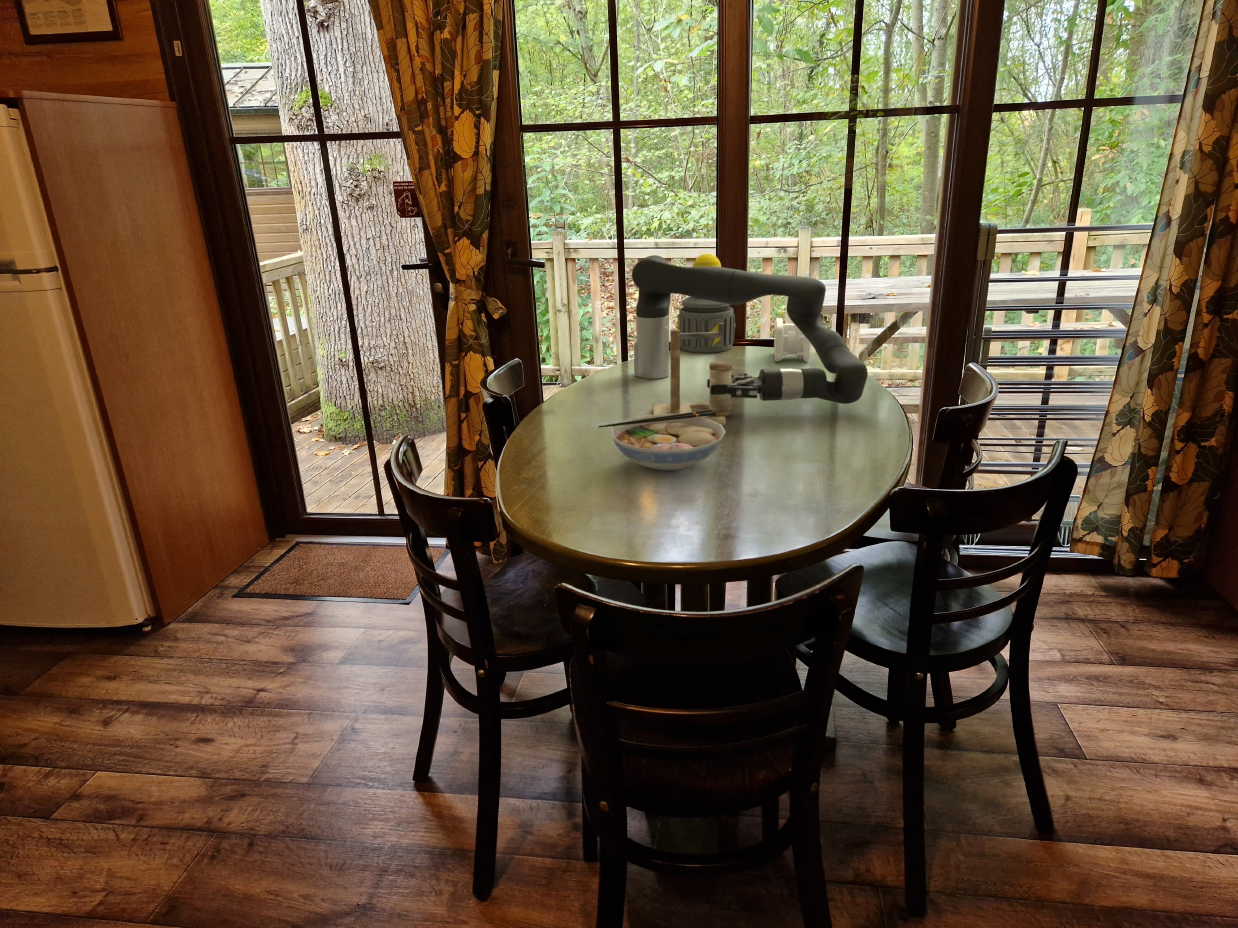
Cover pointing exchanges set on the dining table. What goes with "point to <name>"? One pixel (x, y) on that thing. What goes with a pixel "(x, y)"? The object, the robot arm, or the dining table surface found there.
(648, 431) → the ramen bowl
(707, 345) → the decorative lamp
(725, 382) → the cord spool
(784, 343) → the cable organizer
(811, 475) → the dining table surface
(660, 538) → the dining table surface
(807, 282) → the robot arm
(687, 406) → the hook stand
